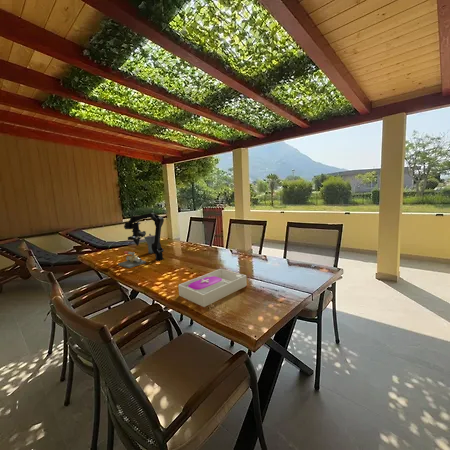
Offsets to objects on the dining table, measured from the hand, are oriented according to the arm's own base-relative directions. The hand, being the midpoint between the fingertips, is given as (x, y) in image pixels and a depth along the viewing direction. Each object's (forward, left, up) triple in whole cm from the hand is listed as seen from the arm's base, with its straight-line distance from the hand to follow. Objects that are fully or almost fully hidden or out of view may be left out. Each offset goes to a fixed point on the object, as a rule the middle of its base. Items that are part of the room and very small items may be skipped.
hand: (137, 245), depth 224 cm
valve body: (-9, +11, -12) cm, 18 cm away
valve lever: (-4, +11, -5) cm, 13 cm away
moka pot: (+8, -22, -13) cm, 27 cm away
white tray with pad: (-109, +21, -14) cm, 111 cm away
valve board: (-9, +13, -13) cm, 20 cm away
